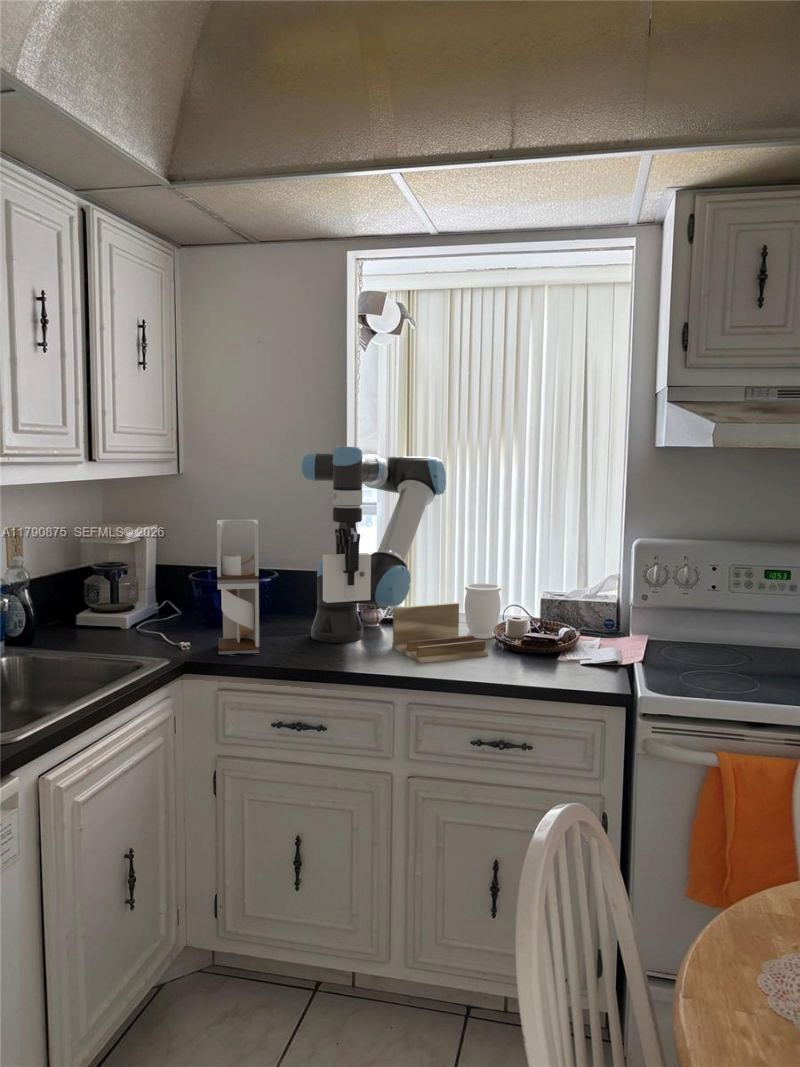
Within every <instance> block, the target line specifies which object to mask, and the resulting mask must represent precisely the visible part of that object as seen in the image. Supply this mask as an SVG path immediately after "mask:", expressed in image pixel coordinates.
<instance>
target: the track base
mask: <svg viewBox="0 0 800 1067" xmlns="http://www.w3.org/2000/svg"><path fill="white" fill-rule="evenodd" d="M459 621H460V603H459V602H448V603H436V604H435V603H434V604H425V605H423V604H421V605H411V606H410V605H408V606H395V607H392V642H391V643H392V644H391V645H392V646H391V647H392V648H394V649H395V650H397V651H398V652H400V653H402V654H404V655H405V654H406V656H407V657H409V658H410V659H412V660H414V661H416V662H418V663H420V664H426V663H425V662H427V663H434V662H435V661H436V662H443V661H442V660H445V661H451V659H454V660H460V659H461V660H462V659H469V658H479V657H487V656H488V653H489V651H488V650H486V640H485V639H477V640H475V638H474V636H473V635H469V636H468V635H462V636H461V635H460V636H459V632H460V630H459V626H460V625H459V624H460V622H459Z"/></svg>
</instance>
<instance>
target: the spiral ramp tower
mask: <svg viewBox="0 0 800 1067" xmlns="http://www.w3.org/2000/svg"><path fill="white" fill-rule="evenodd" d="M259 554H260V552H259V522H258V519H217V521H216V566H217V567H216V576H217V579H216V580H217V582H216V584H217V590H221V591H220V594H221V596H220V597H221V600H220V601H221V611H222V637H219V638H218V647H217V648H218V649H217V652H218V653H217V654H235V653H259V654H260V598H259V597H260V590H259V589H260V580H259V576H260V575H259V571H260V569H259V568H260V566H259V563H260V562H259V559H260V558H259V556H260V555H259Z"/></svg>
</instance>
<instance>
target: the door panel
mask: <svg viewBox="0 0 800 1067" xmlns="http://www.w3.org/2000/svg"><path fill="white" fill-rule="evenodd" d="M371 554H372V553H371ZM371 554H370V553H368V552H359V569H358V571H356V573H355V597H352V598H344V573H343V571H346V566H345V554H336V553H335V554H334V553H333V554H322V561H323V601H325V602H326V603H332V602H347V601H362V600H371Z"/></svg>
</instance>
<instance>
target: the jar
mask: <svg viewBox="0 0 800 1067" xmlns="http://www.w3.org/2000/svg"><path fill="white" fill-rule="evenodd" d="M464 590H465V591H466V594H465V598H464V615H465V621H466V622H465V623H466V626H467V629H468V630H469V631H468V632H467V635H466V636H469V635H473V636H474V639H477V640H487V639H488V640H491V639H494V638H493V636H492V631H493V629H494V628H495V626H497V627H498V624H499V620H500V619H499V618H500V615H501V606H502V605H501V604H502V603H501V596H500V592H501V590H502V586H500V585H497V584H491V583H470V584H466V585H465V587H464Z"/></svg>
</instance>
